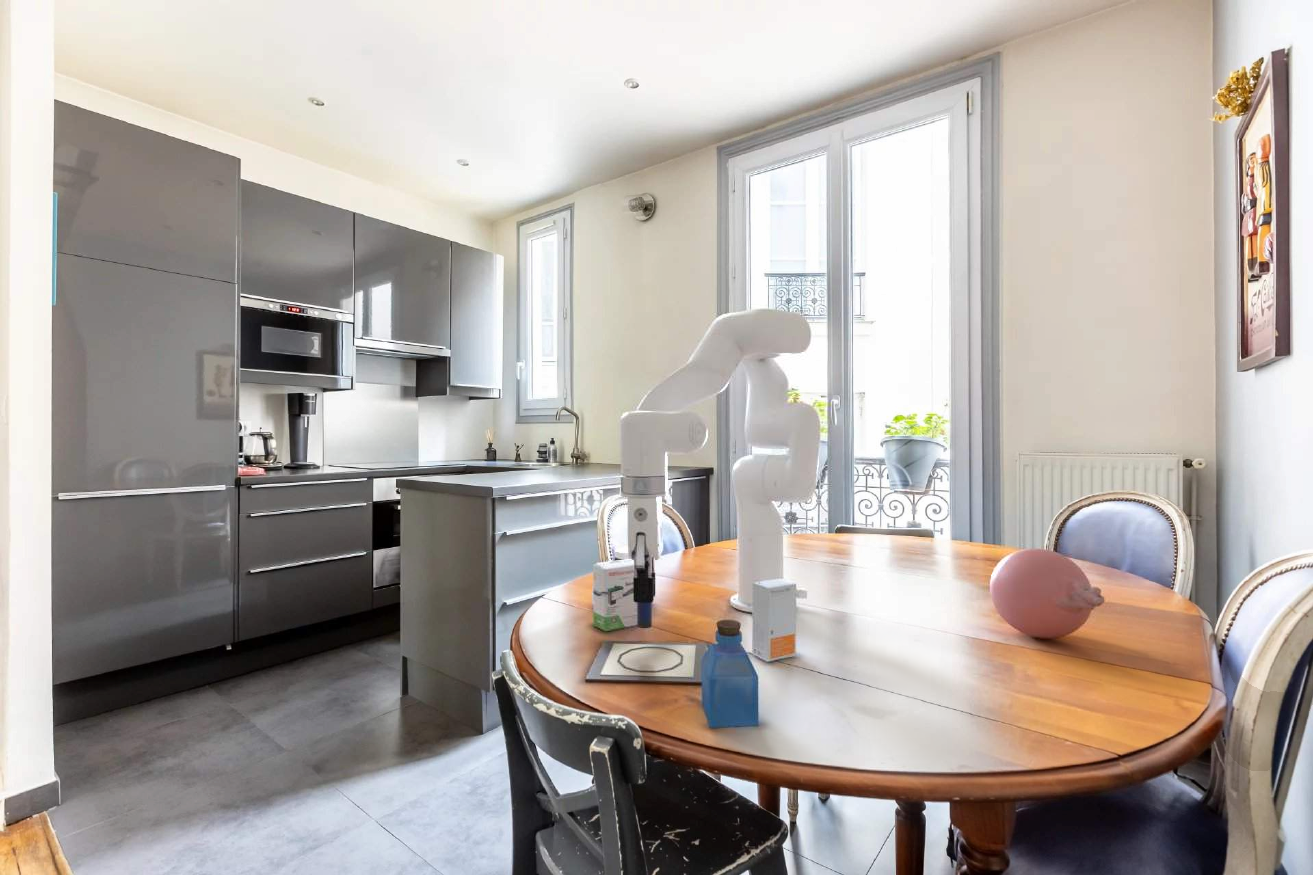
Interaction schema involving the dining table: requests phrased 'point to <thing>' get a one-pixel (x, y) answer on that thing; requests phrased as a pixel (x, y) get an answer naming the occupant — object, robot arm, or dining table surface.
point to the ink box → (614, 595)
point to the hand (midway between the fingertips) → (644, 598)
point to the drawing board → (648, 662)
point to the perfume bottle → (729, 680)
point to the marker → (644, 615)
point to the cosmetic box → (774, 619)
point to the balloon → (1042, 593)
